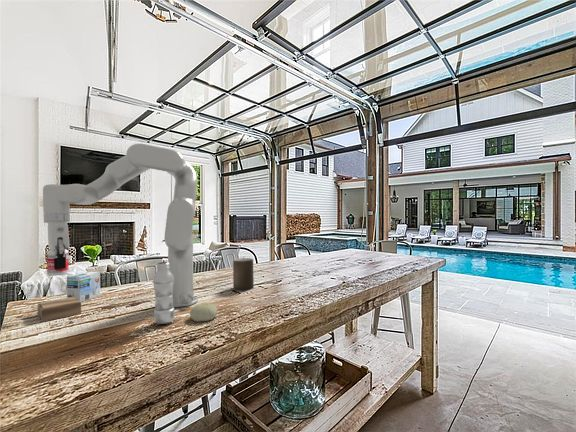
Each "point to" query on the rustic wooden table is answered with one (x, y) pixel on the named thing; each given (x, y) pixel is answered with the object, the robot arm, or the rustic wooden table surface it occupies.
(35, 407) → the rustic wooden table surface
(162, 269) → the plastic bottle
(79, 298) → the light bulb box
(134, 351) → the rustic wooden table surface
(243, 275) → the pillar candle
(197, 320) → the sea urchin shell
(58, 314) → the walnut base
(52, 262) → the pill bottle
